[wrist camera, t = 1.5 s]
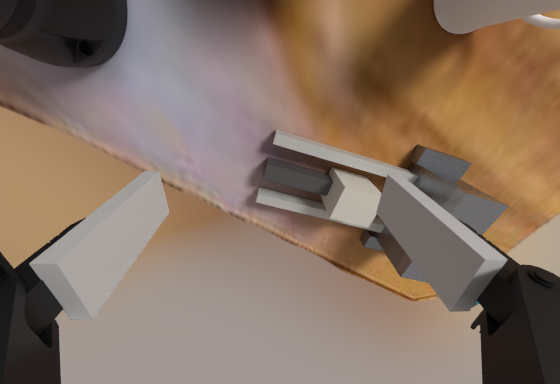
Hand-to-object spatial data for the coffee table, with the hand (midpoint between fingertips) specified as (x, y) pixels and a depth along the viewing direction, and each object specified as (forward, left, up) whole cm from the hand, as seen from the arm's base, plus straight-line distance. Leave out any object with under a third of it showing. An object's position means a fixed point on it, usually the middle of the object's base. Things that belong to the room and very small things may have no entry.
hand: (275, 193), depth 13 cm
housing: (+25, -6, -20) cm, 33 cm away
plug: (+8, -6, -20) cm, 22 cm away
